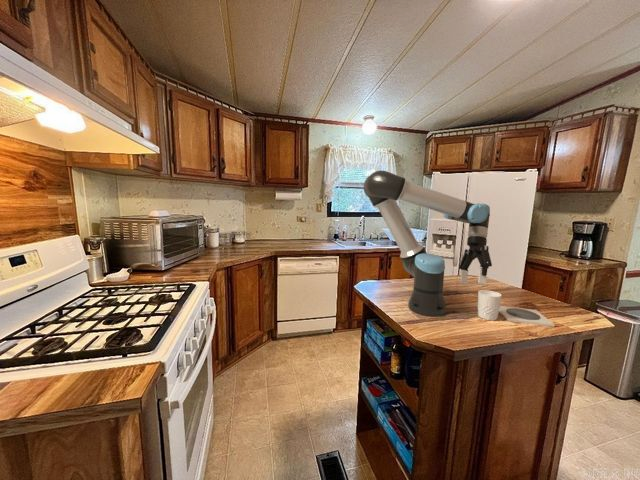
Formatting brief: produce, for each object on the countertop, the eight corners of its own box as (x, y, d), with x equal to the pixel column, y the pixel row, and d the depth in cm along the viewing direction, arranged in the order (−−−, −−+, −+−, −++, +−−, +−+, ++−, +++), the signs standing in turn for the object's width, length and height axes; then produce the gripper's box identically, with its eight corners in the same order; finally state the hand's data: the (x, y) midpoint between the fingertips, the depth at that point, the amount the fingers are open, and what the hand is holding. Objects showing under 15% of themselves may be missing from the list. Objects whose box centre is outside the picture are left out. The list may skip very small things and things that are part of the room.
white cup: (488, 322, 102) (490, 297, 100) (471, 314, 109) (473, 290, 108) (503, 320, 104) (506, 295, 102) (486, 312, 111) (488, 289, 110)
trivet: (507, 320, 103) (507, 318, 103) (495, 307, 117) (495, 304, 117) (554, 326, 98) (554, 324, 98) (536, 311, 112) (536, 309, 112)
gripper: (505, 233, 106) (500, 285, 102) (469, 244, 131) (464, 286, 127) (486, 229, 106) (481, 281, 103) (454, 240, 131) (449, 282, 127)
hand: (471, 284), depth 115 cm, fingers open, 13 cm apart
